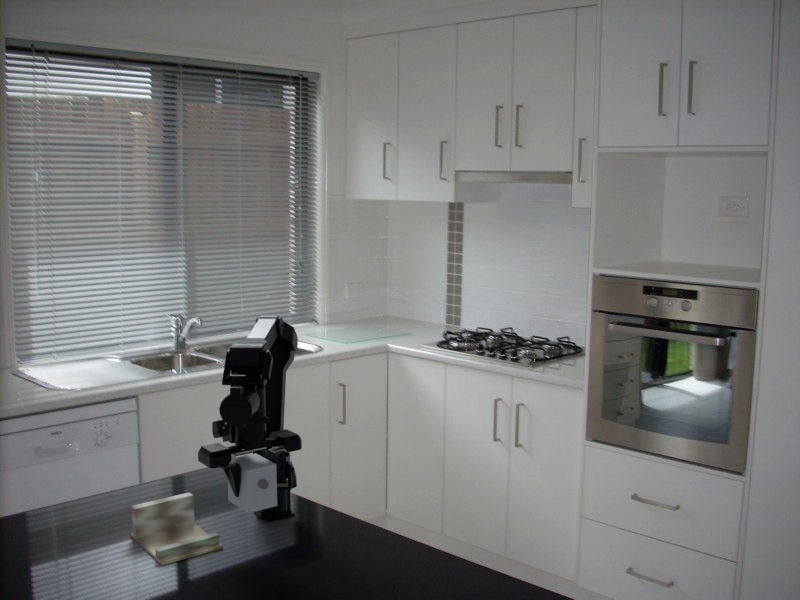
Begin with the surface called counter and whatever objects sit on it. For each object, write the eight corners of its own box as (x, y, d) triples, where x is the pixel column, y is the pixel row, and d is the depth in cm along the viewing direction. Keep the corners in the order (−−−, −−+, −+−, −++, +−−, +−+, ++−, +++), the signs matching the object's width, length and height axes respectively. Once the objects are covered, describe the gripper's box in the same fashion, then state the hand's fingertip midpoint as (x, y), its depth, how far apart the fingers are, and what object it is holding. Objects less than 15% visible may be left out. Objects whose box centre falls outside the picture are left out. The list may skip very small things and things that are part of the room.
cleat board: (188, 521, 175) (187, 490, 174) (222, 548, 163) (221, 515, 162) (130, 536, 168) (129, 504, 167) (162, 565, 155) (160, 530, 154)
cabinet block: (256, 493, 165) (255, 453, 163) (279, 507, 157) (278, 465, 156) (228, 500, 161) (226, 459, 160) (250, 515, 154) (249, 472, 153)
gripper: (273, 394, 169) (275, 470, 171) (184, 410, 158) (187, 491, 160) (302, 406, 160) (304, 486, 162) (209, 423, 149) (212, 509, 151)
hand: (252, 492), depth 159 cm, fingers closed on cabinet block, 6 cm apart
